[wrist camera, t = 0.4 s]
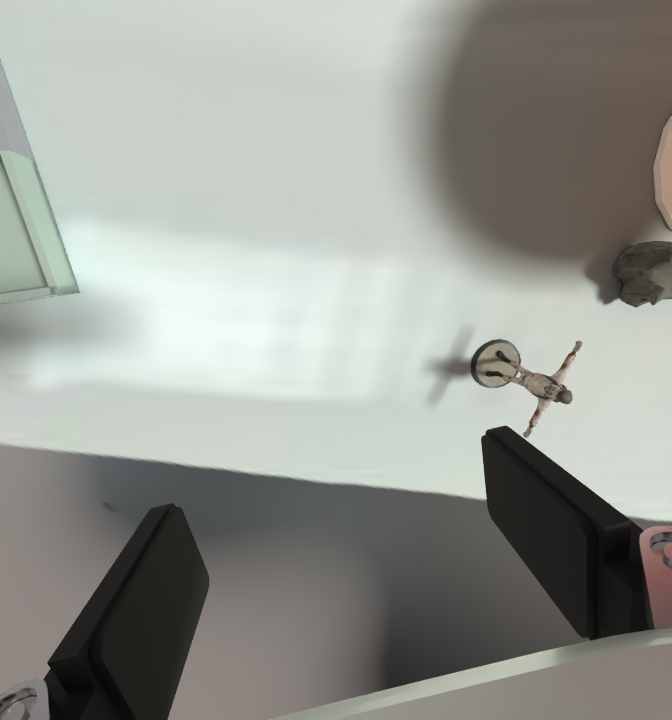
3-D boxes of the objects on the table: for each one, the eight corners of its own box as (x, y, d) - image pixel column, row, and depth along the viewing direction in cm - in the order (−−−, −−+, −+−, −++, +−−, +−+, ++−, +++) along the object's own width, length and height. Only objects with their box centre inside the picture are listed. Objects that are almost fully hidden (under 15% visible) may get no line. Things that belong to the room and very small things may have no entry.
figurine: (496, 409, 44) (563, 458, 32) (454, 394, 43) (508, 438, 31) (537, 333, 42) (626, 356, 30) (494, 314, 40) (569, 330, 29)
